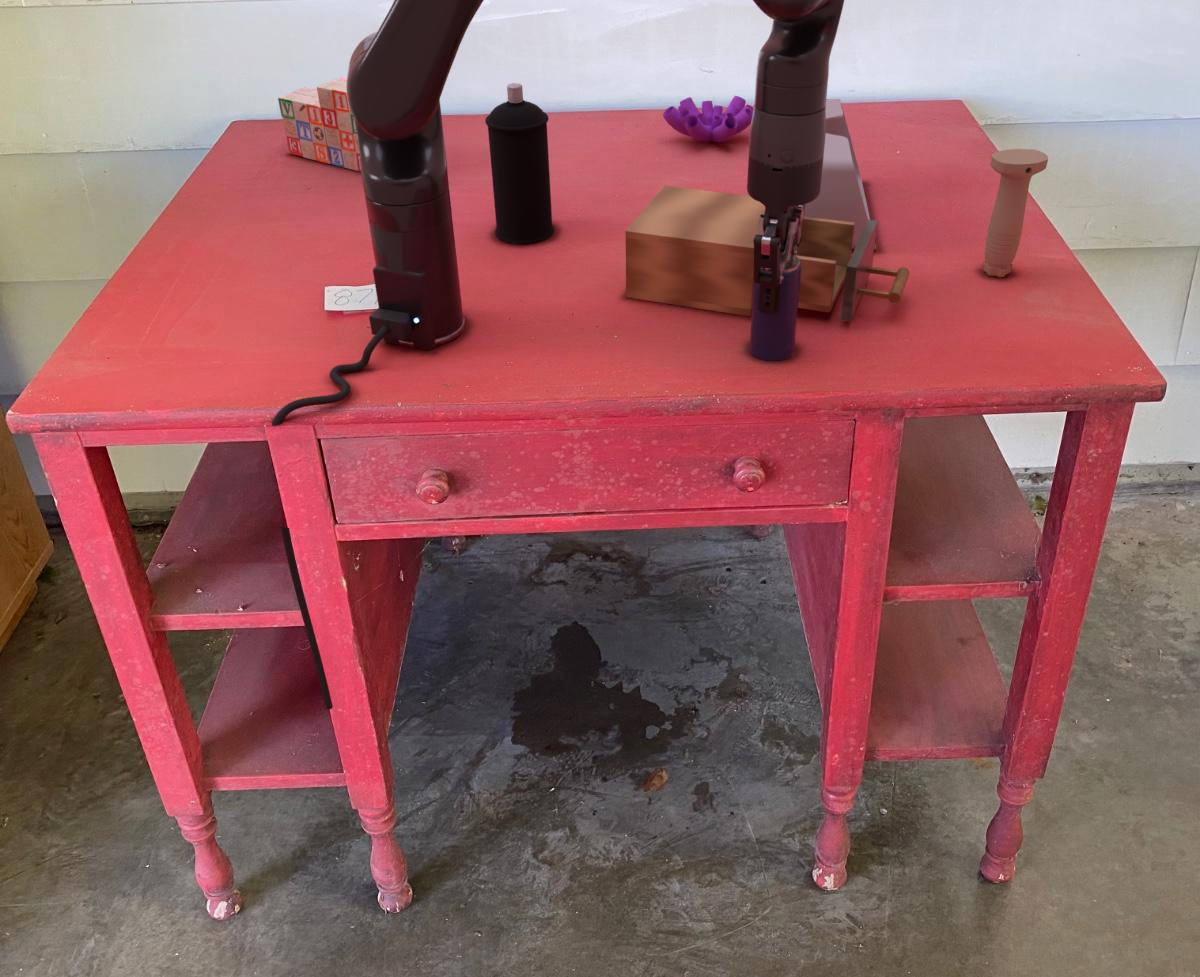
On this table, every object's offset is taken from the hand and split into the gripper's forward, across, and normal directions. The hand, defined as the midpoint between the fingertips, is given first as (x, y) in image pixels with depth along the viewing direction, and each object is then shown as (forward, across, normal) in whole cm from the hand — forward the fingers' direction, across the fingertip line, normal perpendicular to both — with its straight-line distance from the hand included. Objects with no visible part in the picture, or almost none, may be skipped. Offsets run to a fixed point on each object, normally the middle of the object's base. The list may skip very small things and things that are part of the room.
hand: (775, 300), depth 123 cm
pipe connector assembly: (+7, -63, -26) cm, 68 cm away
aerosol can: (+6, -21, -40) cm, 46 cm away
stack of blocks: (+7, -38, -78) cm, 87 cm away
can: (+6, 0, 0) cm, 6 cm away
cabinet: (+6, -14, -12) cm, 20 cm away
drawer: (+5, -14, +3) cm, 16 cm away
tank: (+7, -39, -4) cm, 40 cm away
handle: (+7, -28, +22) cm, 36 cm away
